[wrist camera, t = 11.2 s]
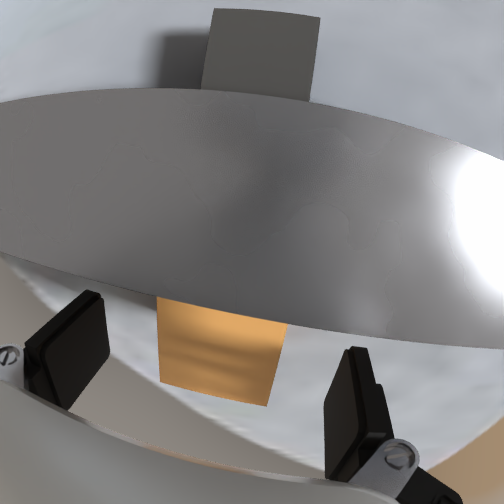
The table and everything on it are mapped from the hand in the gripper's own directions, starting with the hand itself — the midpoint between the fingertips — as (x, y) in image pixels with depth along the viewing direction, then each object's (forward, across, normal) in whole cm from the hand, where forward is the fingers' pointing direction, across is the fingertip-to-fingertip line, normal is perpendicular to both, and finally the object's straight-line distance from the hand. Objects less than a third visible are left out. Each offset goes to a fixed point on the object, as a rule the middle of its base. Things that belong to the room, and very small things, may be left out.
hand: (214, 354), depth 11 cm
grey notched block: (+3, 0, -6) cm, 7 cm away
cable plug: (+3, 0, -5) cm, 6 cm away
